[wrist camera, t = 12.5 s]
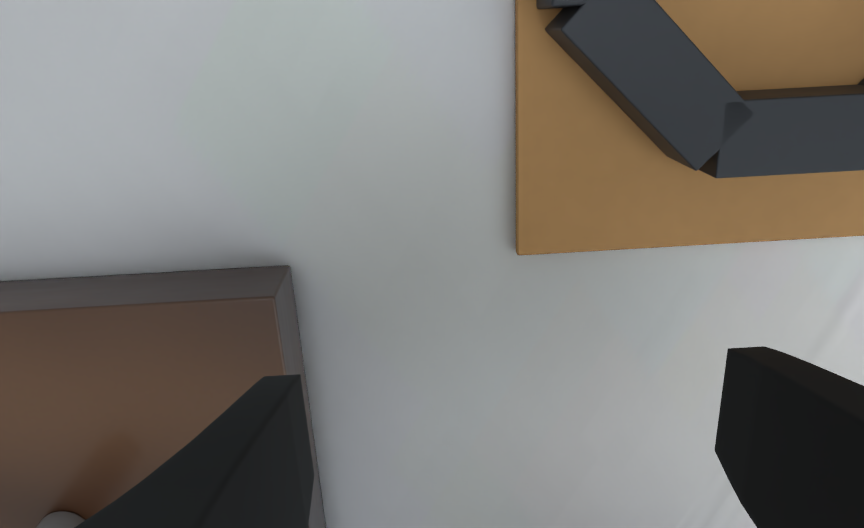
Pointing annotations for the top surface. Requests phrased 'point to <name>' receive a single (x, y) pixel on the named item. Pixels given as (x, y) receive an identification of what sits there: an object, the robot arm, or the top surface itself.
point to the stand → (129, 379)
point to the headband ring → (706, 96)
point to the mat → (648, 166)
